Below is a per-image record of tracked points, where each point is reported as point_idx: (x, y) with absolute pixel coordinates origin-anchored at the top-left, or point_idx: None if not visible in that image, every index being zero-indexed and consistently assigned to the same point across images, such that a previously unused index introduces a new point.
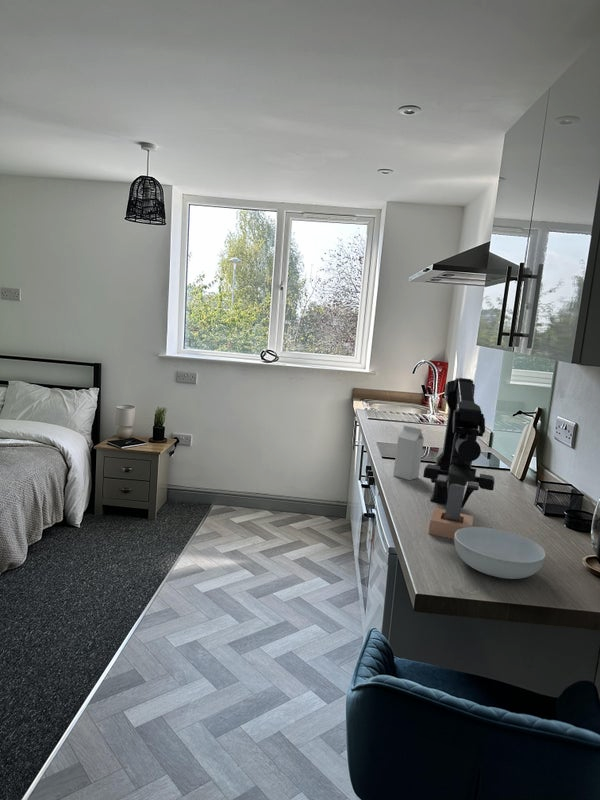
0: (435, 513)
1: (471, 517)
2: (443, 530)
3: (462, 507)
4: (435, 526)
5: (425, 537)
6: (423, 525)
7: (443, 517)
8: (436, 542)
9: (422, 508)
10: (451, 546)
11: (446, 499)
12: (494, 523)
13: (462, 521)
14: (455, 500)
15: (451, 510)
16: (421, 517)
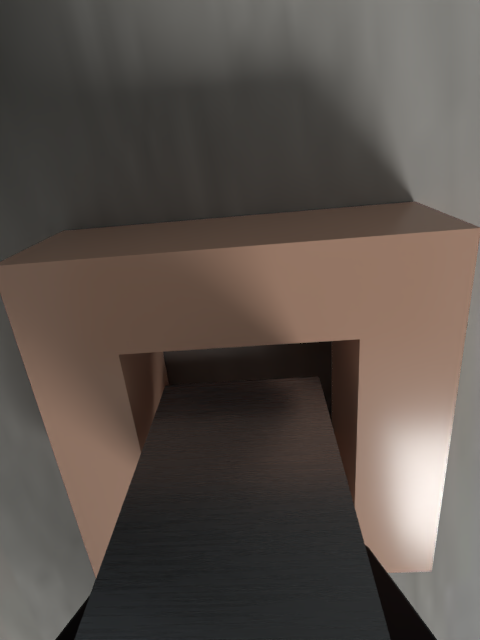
0: (420, 457)
1: (99, 547)
2: (292, 224)
3: None
4: (384, 221)
5: (438, 76)
6: None
7: None
8: (323, 10)
9: (466, 621)
10: (171, 8)
11: (387, 624)
12: (46, 632)
13: None
14: (216, 620)
15: (261, 456)
16: (474, 492)
